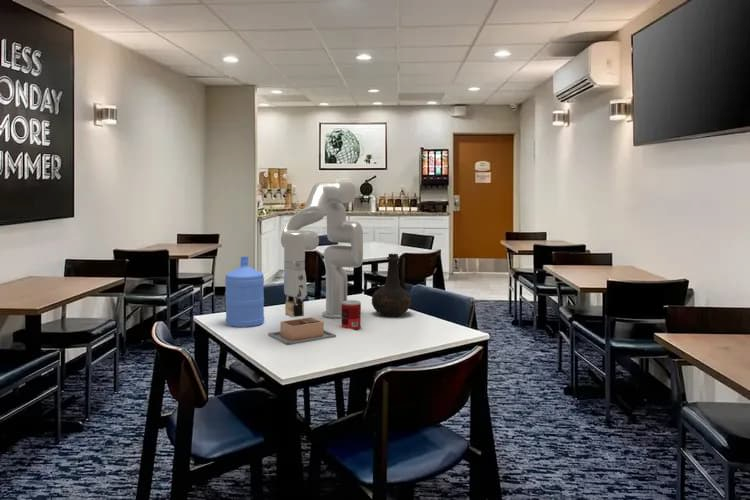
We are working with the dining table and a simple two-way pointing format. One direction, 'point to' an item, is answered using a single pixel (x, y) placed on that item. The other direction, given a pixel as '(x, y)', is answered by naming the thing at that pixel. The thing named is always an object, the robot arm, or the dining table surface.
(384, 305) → the brown vase
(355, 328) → the canned food
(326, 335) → the tray
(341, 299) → the robot arm
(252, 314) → the water jug
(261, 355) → the dining table surface
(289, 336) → the pot
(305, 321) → the walnut block
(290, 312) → the oak block
